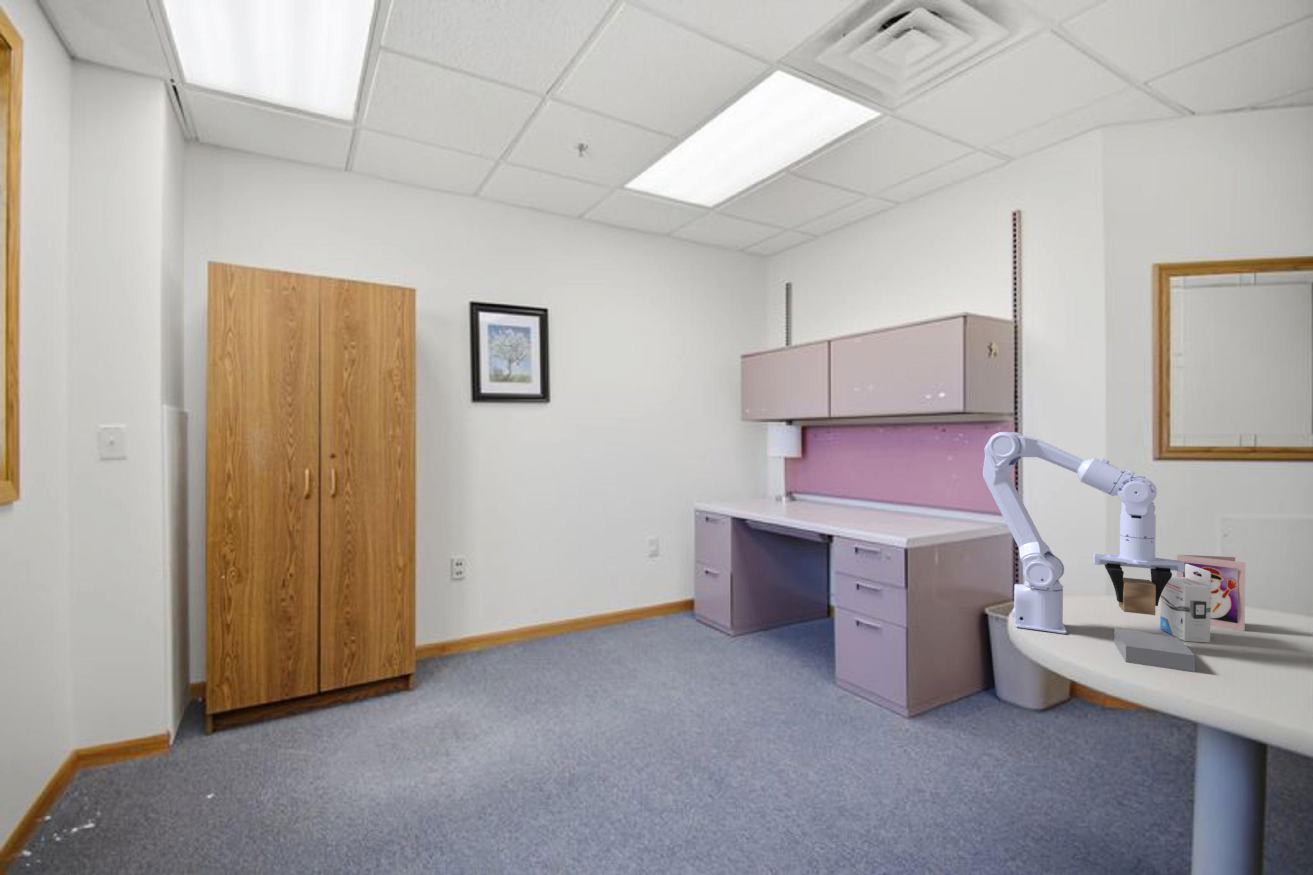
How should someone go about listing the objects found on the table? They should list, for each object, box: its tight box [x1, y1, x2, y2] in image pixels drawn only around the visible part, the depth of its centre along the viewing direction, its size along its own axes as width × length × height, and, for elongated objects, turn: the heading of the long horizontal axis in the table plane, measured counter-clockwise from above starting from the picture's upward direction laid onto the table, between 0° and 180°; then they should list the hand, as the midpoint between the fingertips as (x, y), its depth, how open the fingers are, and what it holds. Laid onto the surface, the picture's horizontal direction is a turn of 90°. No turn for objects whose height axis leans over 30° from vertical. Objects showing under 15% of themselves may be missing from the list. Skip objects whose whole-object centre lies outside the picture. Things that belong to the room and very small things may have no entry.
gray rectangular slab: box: [1113, 627, 1196, 673], centre depth 117 cm, size 10×12×3 cm
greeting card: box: [1176, 554, 1246, 632], centre depth 139 cm, size 11×7×15 cm, turn 43°
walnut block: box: [1118, 577, 1156, 616], centre depth 124 cm, size 5×5×6 cm
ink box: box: [1159, 564, 1211, 644], centre depth 130 cm, size 9×5×15 cm, turn 168°
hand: (1136, 603), depth 124 cm, fingers closed on walnut block, 5 cm apart
